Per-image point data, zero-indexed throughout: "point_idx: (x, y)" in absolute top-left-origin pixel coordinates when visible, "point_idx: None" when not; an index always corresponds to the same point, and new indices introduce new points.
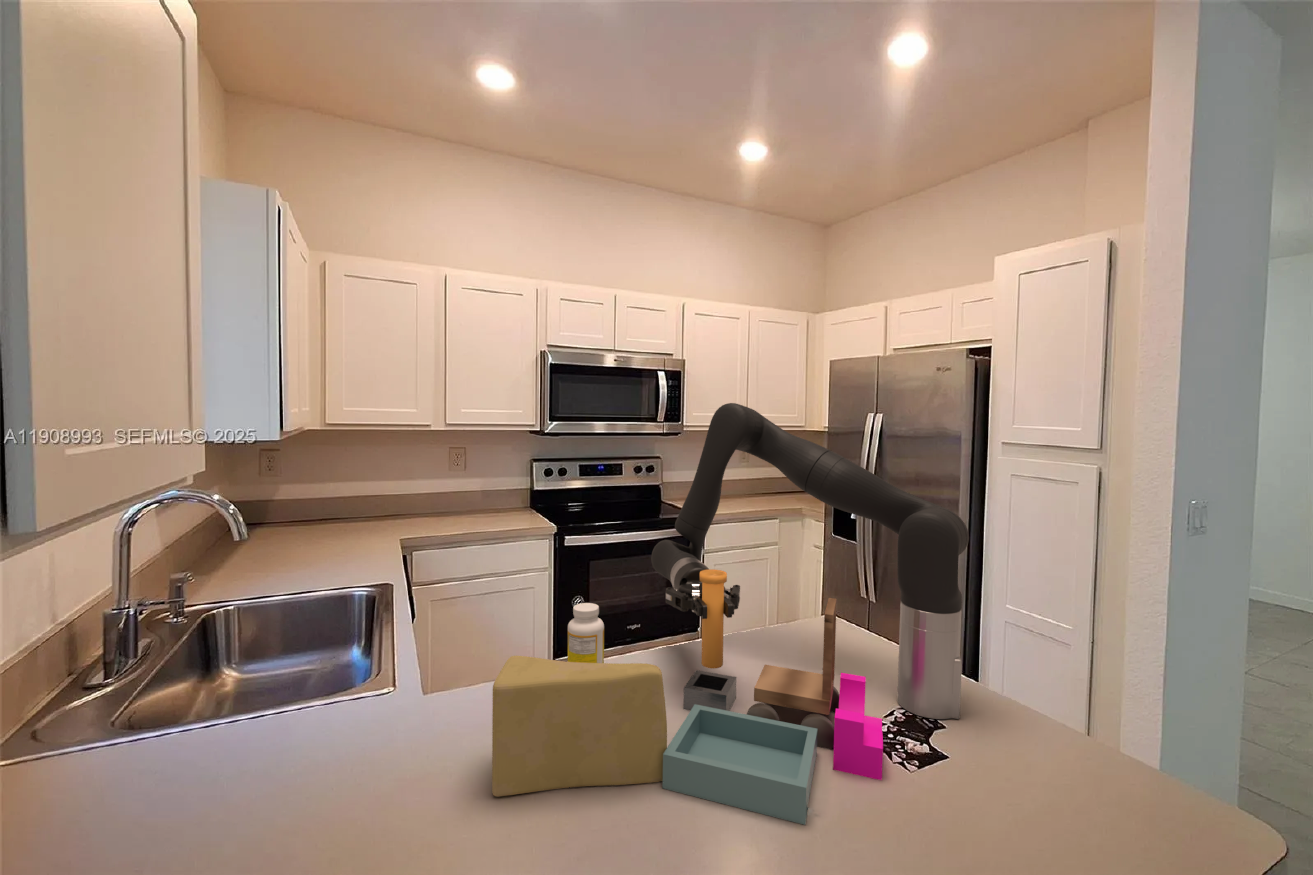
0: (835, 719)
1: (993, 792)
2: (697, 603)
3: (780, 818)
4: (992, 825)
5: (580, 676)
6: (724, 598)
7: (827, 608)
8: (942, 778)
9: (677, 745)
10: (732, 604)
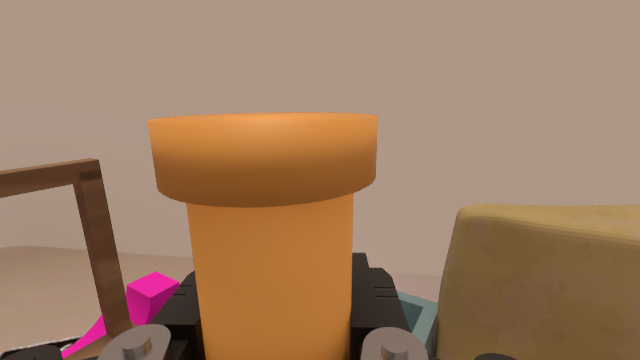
0: (178, 283)
1: (66, 300)
2: (386, 309)
3: None
4: (131, 276)
5: (594, 206)
6: (187, 311)
7: (43, 167)
8: (81, 321)
9: (421, 315)
10: (193, 278)
